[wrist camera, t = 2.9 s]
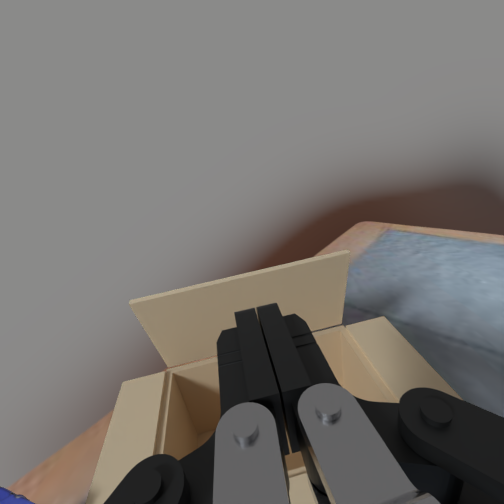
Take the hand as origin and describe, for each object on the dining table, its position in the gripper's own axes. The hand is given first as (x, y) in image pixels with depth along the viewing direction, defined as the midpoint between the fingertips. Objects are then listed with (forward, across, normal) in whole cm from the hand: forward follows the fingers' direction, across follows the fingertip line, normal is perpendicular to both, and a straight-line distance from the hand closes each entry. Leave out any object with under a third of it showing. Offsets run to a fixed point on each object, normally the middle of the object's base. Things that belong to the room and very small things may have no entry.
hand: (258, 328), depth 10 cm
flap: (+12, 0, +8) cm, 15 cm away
